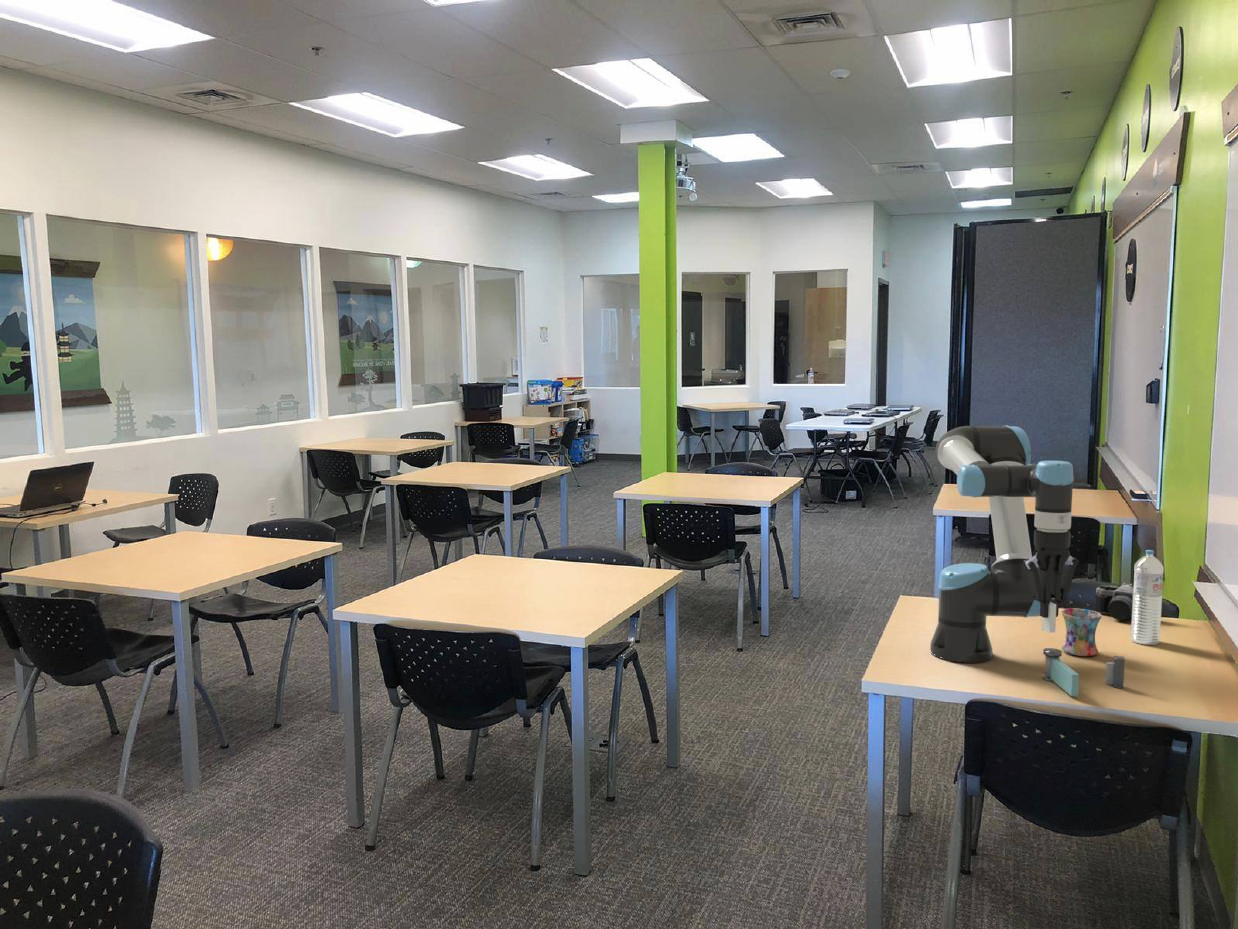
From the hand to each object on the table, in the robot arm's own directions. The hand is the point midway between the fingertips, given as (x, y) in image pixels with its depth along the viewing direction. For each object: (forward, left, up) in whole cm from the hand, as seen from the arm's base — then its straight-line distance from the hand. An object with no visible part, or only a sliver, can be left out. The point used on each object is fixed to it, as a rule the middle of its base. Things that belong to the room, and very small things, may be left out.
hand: (1048, 630), depth 213 cm
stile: (+15, +9, -14) cm, 23 cm away
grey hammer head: (+1, +9, -14) cm, 17 cm away
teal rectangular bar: (+3, +4, -14) cm, 15 cm away
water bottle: (+25, +49, -15) cm, 57 cm away
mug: (+9, +34, -15) cm, 38 cm away
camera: (+22, +72, -15) cm, 76 cm away
